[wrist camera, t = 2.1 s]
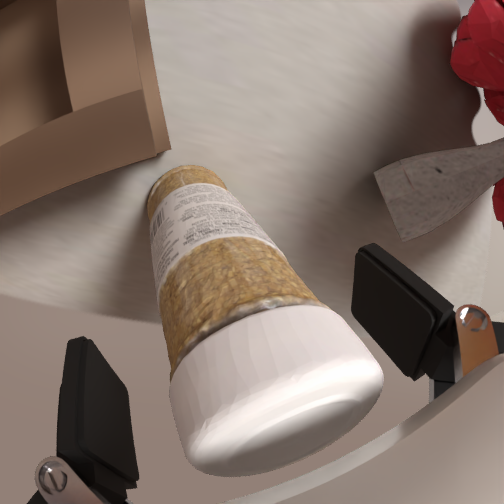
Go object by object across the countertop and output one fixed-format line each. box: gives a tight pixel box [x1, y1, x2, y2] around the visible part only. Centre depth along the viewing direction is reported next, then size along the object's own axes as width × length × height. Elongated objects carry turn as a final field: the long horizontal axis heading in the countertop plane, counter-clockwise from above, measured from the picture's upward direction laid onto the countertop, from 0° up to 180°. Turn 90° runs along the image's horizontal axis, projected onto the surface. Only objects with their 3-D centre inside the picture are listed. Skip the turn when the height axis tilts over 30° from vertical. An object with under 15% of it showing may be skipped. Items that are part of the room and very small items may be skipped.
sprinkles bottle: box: [147, 165, 383, 477], centre depth 11 cm, size 5×5×13 cm
